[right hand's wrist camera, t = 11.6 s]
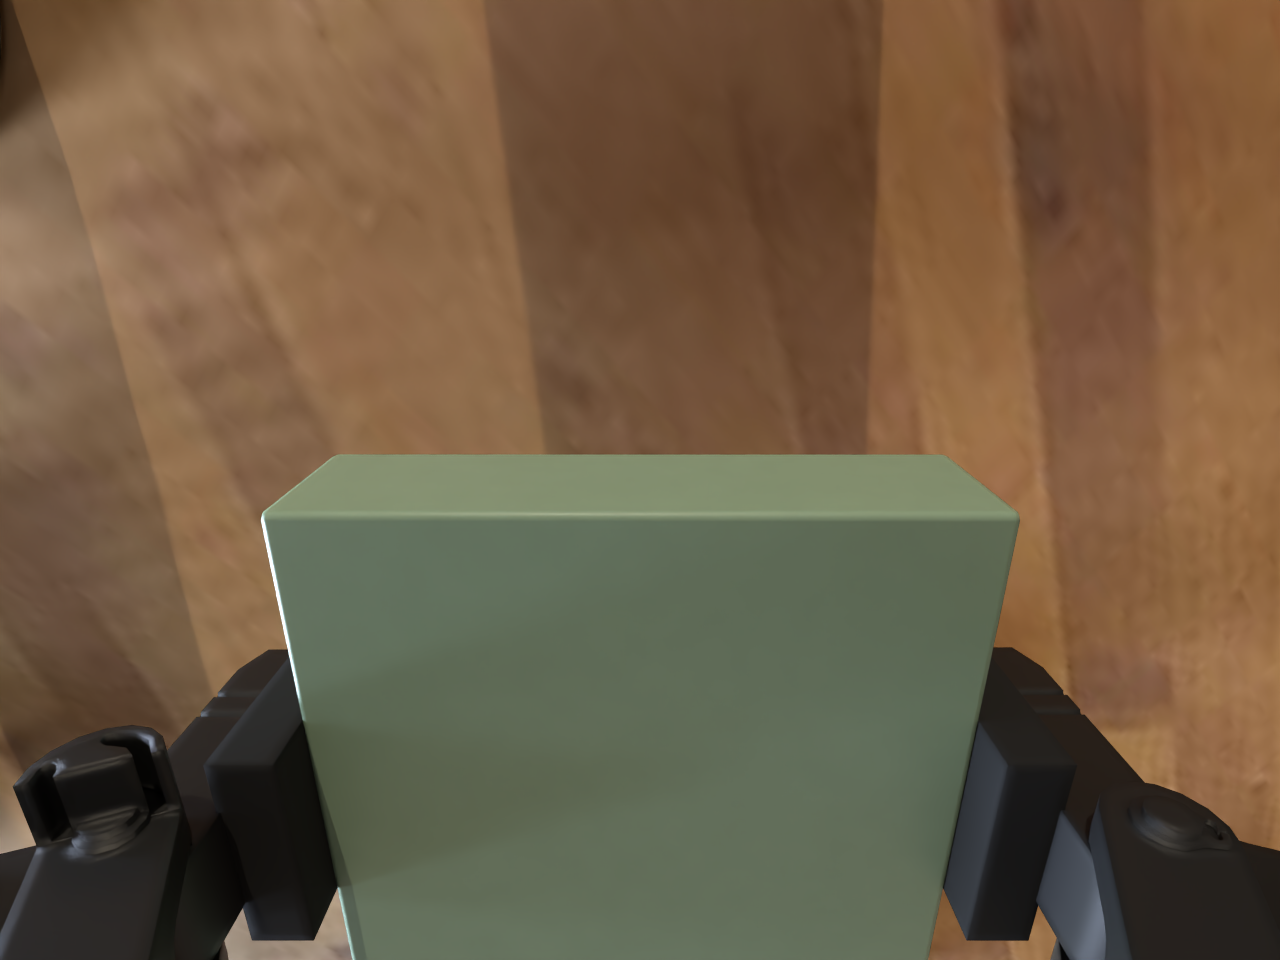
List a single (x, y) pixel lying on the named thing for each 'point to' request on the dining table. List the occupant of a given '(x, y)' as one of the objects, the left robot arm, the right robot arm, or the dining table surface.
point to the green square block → (640, 697)
